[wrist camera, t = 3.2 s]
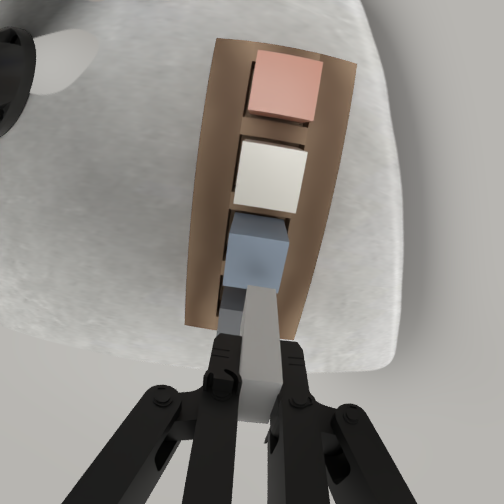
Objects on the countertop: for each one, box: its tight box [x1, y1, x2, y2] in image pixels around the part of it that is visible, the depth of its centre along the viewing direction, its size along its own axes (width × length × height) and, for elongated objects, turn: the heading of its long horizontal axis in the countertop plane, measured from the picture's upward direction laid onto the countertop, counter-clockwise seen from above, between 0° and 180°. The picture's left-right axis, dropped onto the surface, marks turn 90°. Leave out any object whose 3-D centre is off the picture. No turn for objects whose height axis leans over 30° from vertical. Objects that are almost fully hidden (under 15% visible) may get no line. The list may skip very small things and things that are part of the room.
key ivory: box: [233, 139, 308, 213], centre depth 20 cm, size 4×4×5 cm
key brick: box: [248, 50, 323, 123], centre depth 18 cm, size 4×4×5 cm
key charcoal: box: [217, 286, 247, 336], centre depth 25 cm, size 4×4×5 cm
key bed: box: [185, 38, 357, 340], centre depth 25 cm, size 11×26×4 cm, turn 171°
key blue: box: [223, 212, 289, 293], centre depth 22 cm, size 4×4×5 cm
